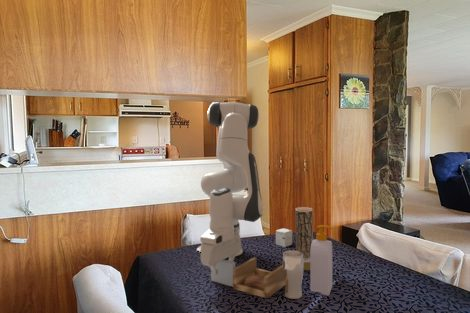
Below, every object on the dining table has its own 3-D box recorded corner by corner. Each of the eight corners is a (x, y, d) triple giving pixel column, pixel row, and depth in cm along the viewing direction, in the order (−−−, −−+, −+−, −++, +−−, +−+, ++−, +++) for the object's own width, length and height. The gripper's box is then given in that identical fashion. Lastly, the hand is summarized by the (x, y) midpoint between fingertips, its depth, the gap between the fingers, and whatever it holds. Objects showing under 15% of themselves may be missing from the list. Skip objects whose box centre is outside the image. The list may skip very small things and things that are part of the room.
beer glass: (281, 293, 119) (280, 250, 119) (300, 292, 120) (300, 249, 119) (285, 302, 112) (285, 257, 112) (306, 301, 113) (306, 256, 112)
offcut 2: (243, 287, 123) (243, 282, 123) (249, 283, 126) (249, 278, 126) (265, 293, 118) (265, 288, 117) (271, 288, 121) (271, 284, 121)
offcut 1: (245, 283, 122) (245, 279, 122) (250, 279, 125) (250, 275, 125) (266, 288, 118) (266, 283, 117) (271, 284, 121) (271, 279, 121)
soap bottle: (331, 296, 116) (330, 229, 115) (310, 293, 119) (309, 228, 118) (334, 286, 124) (334, 223, 123) (315, 283, 127) (314, 221, 126)
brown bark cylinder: (313, 273, 136) (312, 210, 135) (295, 272, 138) (295, 210, 136) (313, 266, 143) (312, 207, 142) (296, 265, 144) (295, 206, 143)
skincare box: (275, 244, 174) (275, 230, 173) (283, 242, 178) (283, 227, 177) (285, 247, 169) (284, 232, 169) (292, 244, 173) (292, 230, 173)
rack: (233, 291, 122) (232, 269, 121) (254, 277, 133) (253, 257, 133) (267, 301, 114) (267, 277, 113) (286, 286, 125) (286, 264, 125)
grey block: (211, 282, 129) (210, 258, 128) (214, 280, 130) (213, 257, 130) (233, 288, 123) (232, 263, 123) (235, 286, 125) (235, 262, 124)
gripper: (231, 225, 136) (232, 259, 137) (197, 238, 119) (198, 277, 120) (244, 227, 132) (245, 263, 133) (211, 241, 116) (212, 281, 117)
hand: (222, 270), depth 127 cm, fingers open, 8 cm apart
